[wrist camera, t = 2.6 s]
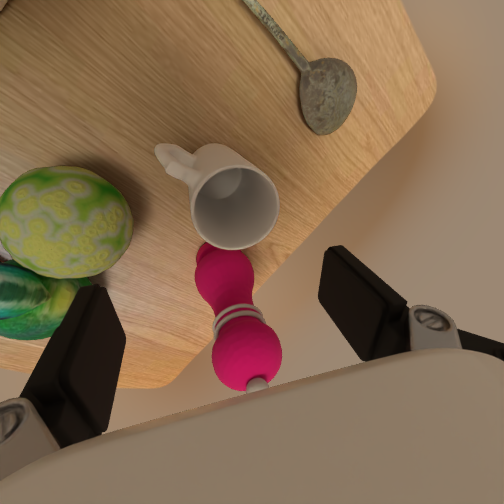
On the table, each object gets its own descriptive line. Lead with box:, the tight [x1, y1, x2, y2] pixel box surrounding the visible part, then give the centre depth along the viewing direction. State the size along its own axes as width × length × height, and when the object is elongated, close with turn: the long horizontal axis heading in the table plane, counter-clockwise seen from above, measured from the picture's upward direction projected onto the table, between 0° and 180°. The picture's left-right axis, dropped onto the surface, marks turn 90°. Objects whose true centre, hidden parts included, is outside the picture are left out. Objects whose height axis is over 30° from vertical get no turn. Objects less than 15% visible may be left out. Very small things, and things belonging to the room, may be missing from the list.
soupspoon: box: [243, 0, 357, 135], centre depth 23 cm, size 22×3×7 cm
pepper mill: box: [195, 242, 282, 394], centre depth 26 cm, size 7×7×20 cm
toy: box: [0, 259, 92, 340], centre depth 24 cm, size 12×8×15 cm
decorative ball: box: [0, 166, 134, 279], centre depth 22 cm, size 10×10×10 cm
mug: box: [154, 143, 280, 250], centre depth 23 cm, size 10×7×12 cm, turn 53°
